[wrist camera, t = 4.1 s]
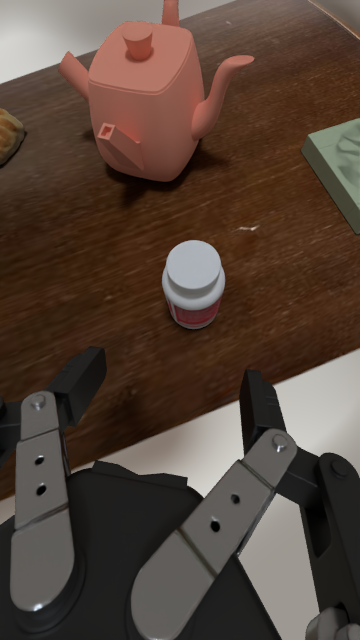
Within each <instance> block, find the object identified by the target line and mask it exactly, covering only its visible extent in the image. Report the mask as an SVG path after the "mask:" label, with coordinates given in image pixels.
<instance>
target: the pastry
mask: <svg viewBox="0 0 360 640" xmlns="http://www.w3.org/2000/svg"><path fill="white" fill-rule="evenodd" d="M23 139H24V126H23V125H22V123H21V122H19V121H18V120H17V119H16V118H15V117H13V116H12V115H10V114H9V113H8V112H7V111H5V110H4V109H1V108H0V165H1V164H3V163H4V162H6V161H7V159H8V158H9V157H10V156H12V155H13V154H14V152H15V150H17V149H18V147H19V145H20V142H21V141H23Z"/></svg>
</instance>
